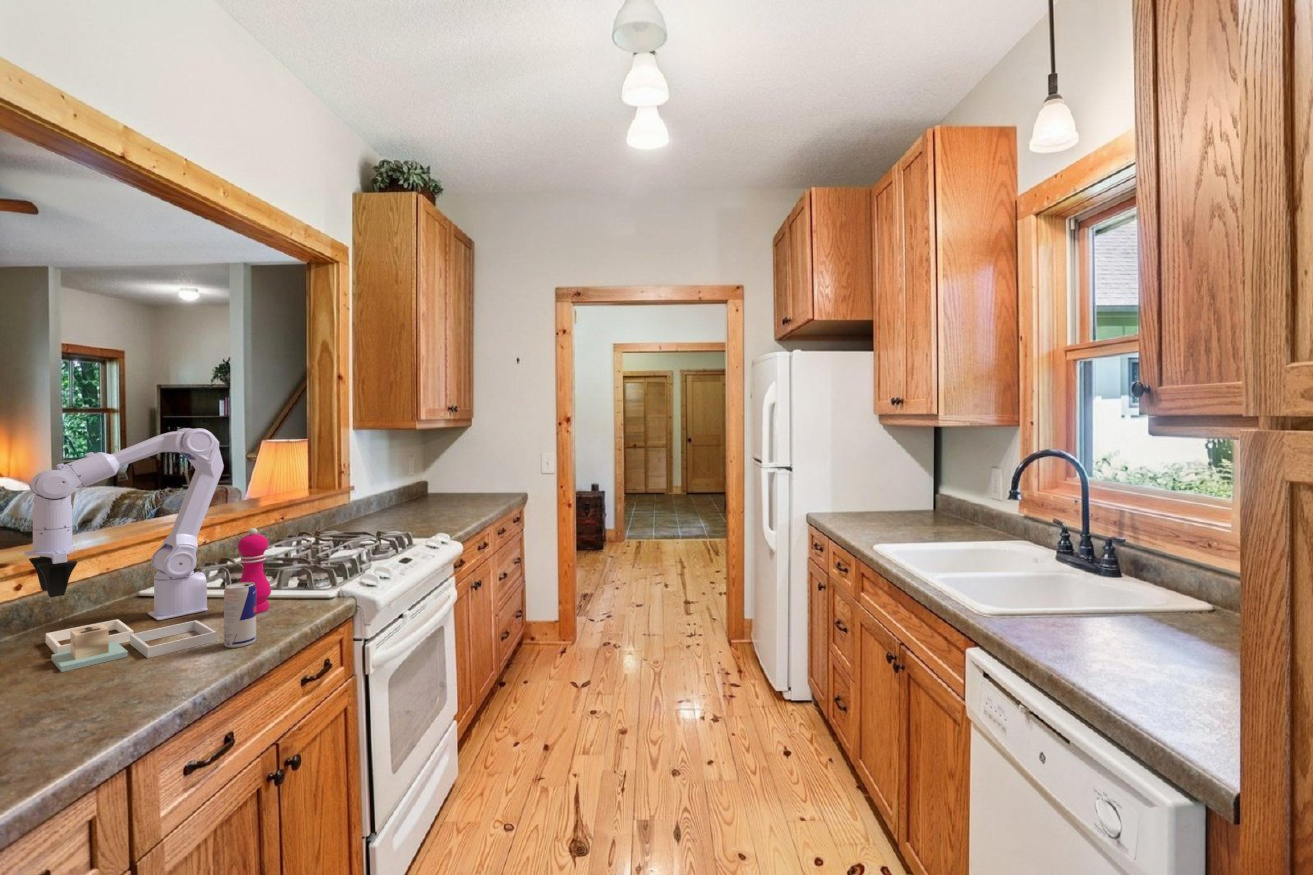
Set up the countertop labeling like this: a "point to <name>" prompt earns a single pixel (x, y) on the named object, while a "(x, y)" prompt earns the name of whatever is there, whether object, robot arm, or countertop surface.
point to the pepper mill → (255, 566)
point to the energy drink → (239, 614)
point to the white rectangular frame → (151, 651)
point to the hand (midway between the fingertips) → (53, 592)
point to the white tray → (65, 634)
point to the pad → (88, 658)
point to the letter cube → (89, 641)
